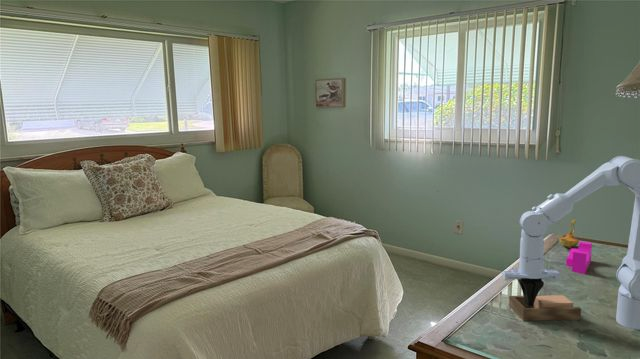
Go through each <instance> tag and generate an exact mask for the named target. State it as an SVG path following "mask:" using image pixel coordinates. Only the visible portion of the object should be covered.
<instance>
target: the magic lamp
mask: <svg viewBox="0 0 640 359" xmlns="http://www.w3.org/2000/svg"><path fill="white" fill-rule="evenodd" d="M575 224H576V219H573V220H571V223H570V225H572V228H573V229H572V230H569V231H568V233H567V234H566V236H561V237H559V243H560V244H561V245H563V246H565V248H567V249H572V247H575V246H577V245H579V242H580V240H579V239H578V238H576V237H574V233H575V228H576V227H575Z"/></svg>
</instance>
